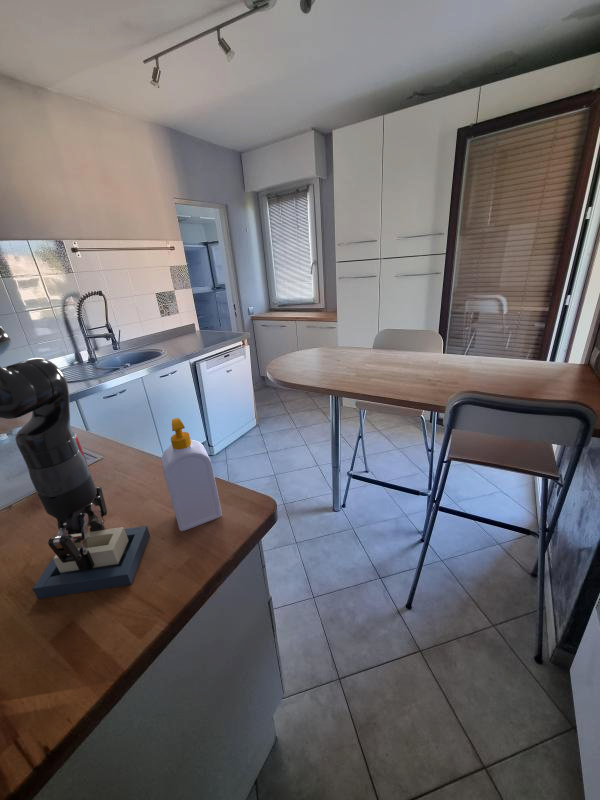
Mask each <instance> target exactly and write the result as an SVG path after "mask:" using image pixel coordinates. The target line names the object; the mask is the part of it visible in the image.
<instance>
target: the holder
mask: <svg viewBox="0 0 600 800" xmlns="http://www.w3.org/2000/svg"><path fill="white" fill-rule="evenodd" d="M124 529H125V532H126V535H127V537H128V540H129V541H128V543H127V546H126V548H125V550H124V552H123V555H122V557H121V559H120V561H119V564H115V565H109V566H102V567H95V568H92V569H89V570H75V571H69V572H62V573H60V572H59V570H58V568H57V566H56V564H55V562H54V559H53V558H54V556H55V555H56V554H55V553H54V556H53V557H52V559H51V560H50V561H49V563H48V564H47V566H46V568H45V569H44V571H43V572H42V574H41V575H40V576H39V578H38V579H37V581H36V582H35V584H34V586H33V587H32V591H33V593H34V594H35V597H36V598H37V599H38V600H40V599H41V600H43V599H48V598H55V597H61V596H67V595H73V594H81V593H86V592H87V593H88V592H93V591H100V590H106V589H112V588H118V587H119V588H120V587H125V586H131V585H132V584H133V581H134V579H135V576H136V573H137V571H138V568H139V565H140V563H141V560H142V557H143V555H144V552H145V550H146V547H147V545H148V542H149V539H150V537H151V534H150V530H149V528H148V525H142V526H135V527H128V528H124Z"/></svg>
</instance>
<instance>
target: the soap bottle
mask: <svg viewBox="0 0 600 800" xmlns="http://www.w3.org/2000/svg"><path fill="white" fill-rule="evenodd" d="M183 429H185V425H184V423H183V421H182V420H181V418H179V417H176V418H172V419H171V430H172V432H175V433H174V434H172V435H171V437H170V442H171V444H170V445H169V446H168V447H166V448H165V450H163V451H164V452H163V453H162V454H161V466H162V471H163V475H164V480H165V484H166V487H167V490H168V494H169V497H170V501H171V504H172V508H173V512H174V516H175V519H176V524H177V527H178V530H179V531H180V532H184V531H187V530H190V529H192V528H195V527H198V526H200V525H201V526H202V525H203V524H205V523H208V522H212V521H214V520H217V519H219V518H221V517H222V515H223V511H222V507H221V502H220V498H219V492H218V487H217V483H216V478H215V473H214V467H213V463H212V460H211V458H210V456H209V454H208V452H207V450H206V447H205V446H204V445H203V443H201V442H200V441H198V440H195V439H191V435H190V433H189V432H187V431H183Z"/></svg>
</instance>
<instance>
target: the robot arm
mask: <svg viewBox="0 0 600 800" xmlns="http://www.w3.org/2000/svg"><path fill="white" fill-rule="evenodd" d="M11 344H12V340H11V337H10V335H9V334H8V333H7V332H6V330H5V329H4V328H3V327H2V326H1V325H0V357H1V356H2V355H4V354H5V353H6V352H7V351H8V350H9V348H10V347H11ZM70 408H71V406H70V390H69V384H68V381H67V378H66V376H65V375H64V373H63V372H62V370H61V368H59V367H58V366H57V365H56V364H55V363H53V362H52V361H50V360H48V359H46V358H42V357H34V358H29V359H25V360H22V361H19V362H16V363H12V364H9V365H7V366H4V367H3V366H0V419H2V420H3V419H4V420H16V419H18V418H22V417H24V416H26V415H28V414H30V413H31V417H30V419H29V420H28V421H27V422H26V423H25V424H24V425H23V426H22V427H20V429H19V430H17V432H16V433H15V443H16V446H17V448H18V450H19V452H20V455H21V456H22V459H23V461H24V462H25V466H26V467H27V470H28V474H29V478H30V481H31V482H32V485H33V487H34V489H35V491H36V494H37V496H38V498H39V499H40V502H41V504H42V506H43V508H44V510H45V513H46V514H47V515H49V516H52V517H53V518H55V519H56V522H57V528H58V532H57V534H56V535H55V537H50V538H49V539H48V541H47V543H48V546H49V548H50V549H51V550H52V551H53V553H54V555H55V554H56V555H57V556H58V557H59V559H60V560H61V561H62V563H67V562H72V561H75V562H76V564H77V567H78V569H79V570H89V569H92V568H93V566H94V562H93V560H92V558H91V555H90V553H89V550H87V541H86V540H87V539H88V538H89V532H93V531H100V530H106V528H105V525H104V524H105V519H104V517H106V516H107V515H108V508H107V505H106V501H105V497H104V492H103V488H102V487H101V486H98V487H96V484H95V483H94V480H93V477H92V474H91V472H90V469H89V465H88V466H87V464H88V463H87V464H86V462H87V460H86V461H85V459H86V458H85V459H84V457H83V455H82V454H81V452H80V450H79V448H78V445H77V443H76V440H75V438H74V435H73V433H72V432H73V431H72V428H71V409H70ZM97 507H99V509H98V508H97ZM80 533H81V535H82V536H75V537H73V536H71V535H72V534H80ZM75 543H79V544H80V548H77V547H76V546H75Z"/></svg>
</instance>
